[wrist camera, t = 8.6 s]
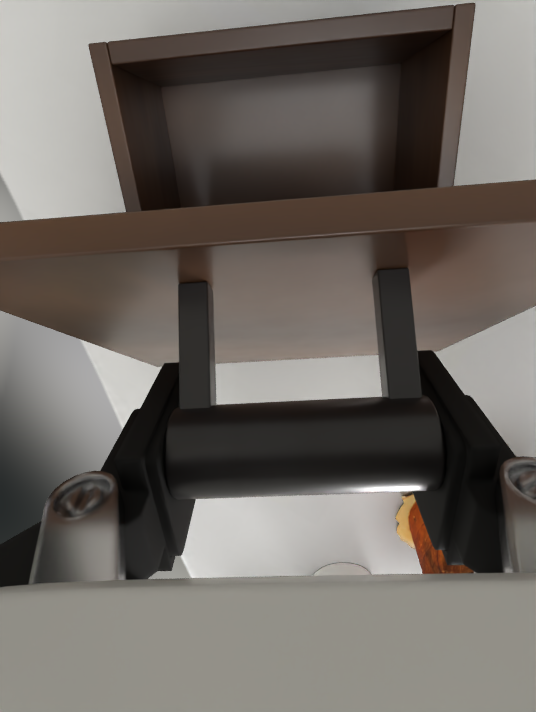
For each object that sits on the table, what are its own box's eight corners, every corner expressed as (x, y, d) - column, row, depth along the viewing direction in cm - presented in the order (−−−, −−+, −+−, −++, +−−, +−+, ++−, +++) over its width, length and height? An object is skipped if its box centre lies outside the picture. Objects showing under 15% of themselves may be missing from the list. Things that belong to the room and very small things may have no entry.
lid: (-115, 229, 8) (-145, 533, 7) (744, 161, 7) (827, 503, 6) (156, 353, 23) (157, 453, 22) (437, 337, 22) (448, 441, 21)
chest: (148, 74, 25) (87, 43, 17) (412, 47, 24) (476, 1, 16) (189, 302, 31) (158, 356, 24) (395, 289, 30) (435, 340, 23)
